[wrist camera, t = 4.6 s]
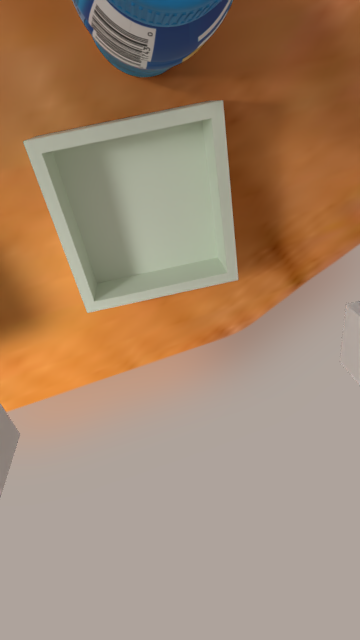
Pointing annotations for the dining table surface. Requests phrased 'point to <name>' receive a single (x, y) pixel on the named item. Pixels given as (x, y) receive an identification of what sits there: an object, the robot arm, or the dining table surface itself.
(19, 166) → the dining table surface
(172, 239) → the green box
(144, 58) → the beverage bottle
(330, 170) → the dining table surface
